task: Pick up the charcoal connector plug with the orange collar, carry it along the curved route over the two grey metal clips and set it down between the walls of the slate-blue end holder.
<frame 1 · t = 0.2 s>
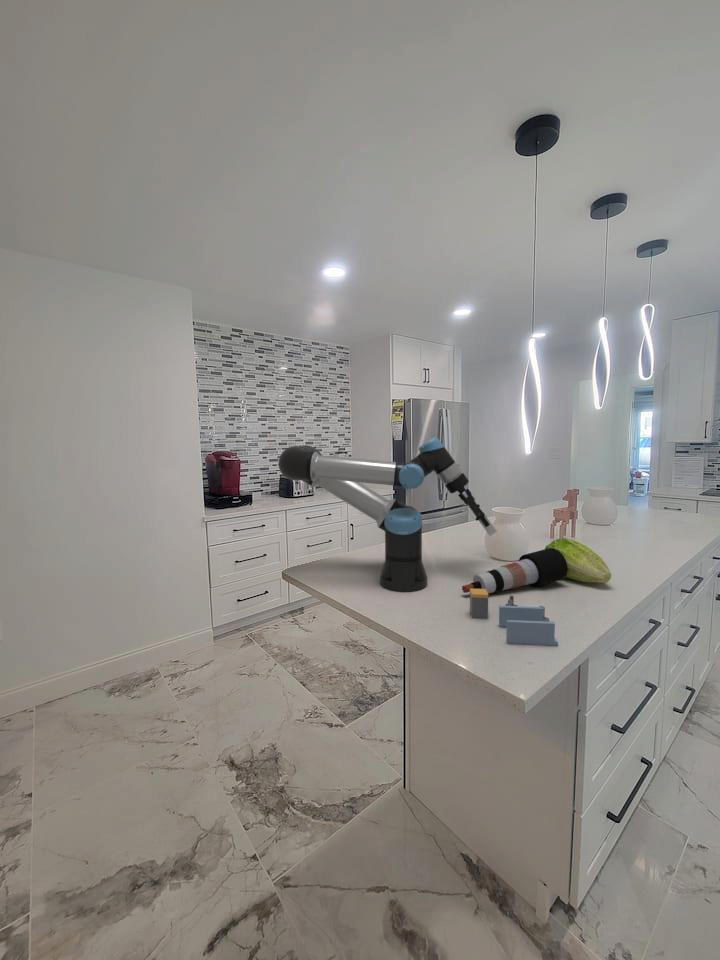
hand: (489, 529, 137), 15 cm above the countertop, fingers open, 13 cm apart
cable: (511, 590, 124), on the countertop
clip a: (510, 609, 109), on the countertop
holder: (525, 634, 95), on the countertop
lettuce: (576, 579, 132), on the countertop
connector: (478, 615, 106), on the countertop
clip b: (537, 620, 102), on the countertop
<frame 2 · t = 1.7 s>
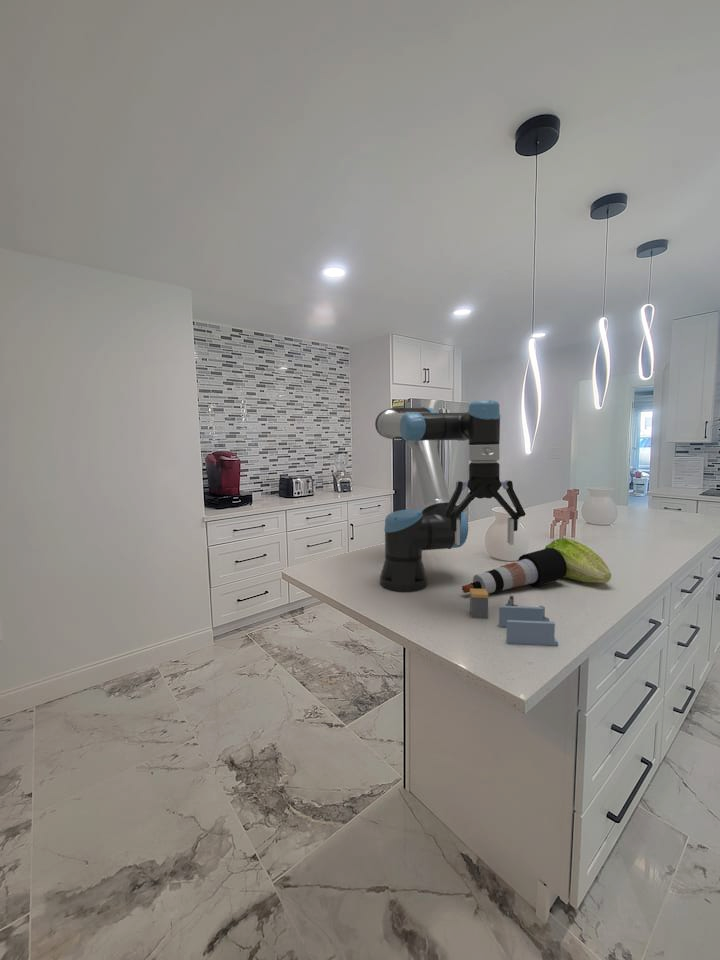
hand: (483, 543, 105), 19 cm above the countertop, fingers open, 13 cm apart
nothing on the countertop moved.
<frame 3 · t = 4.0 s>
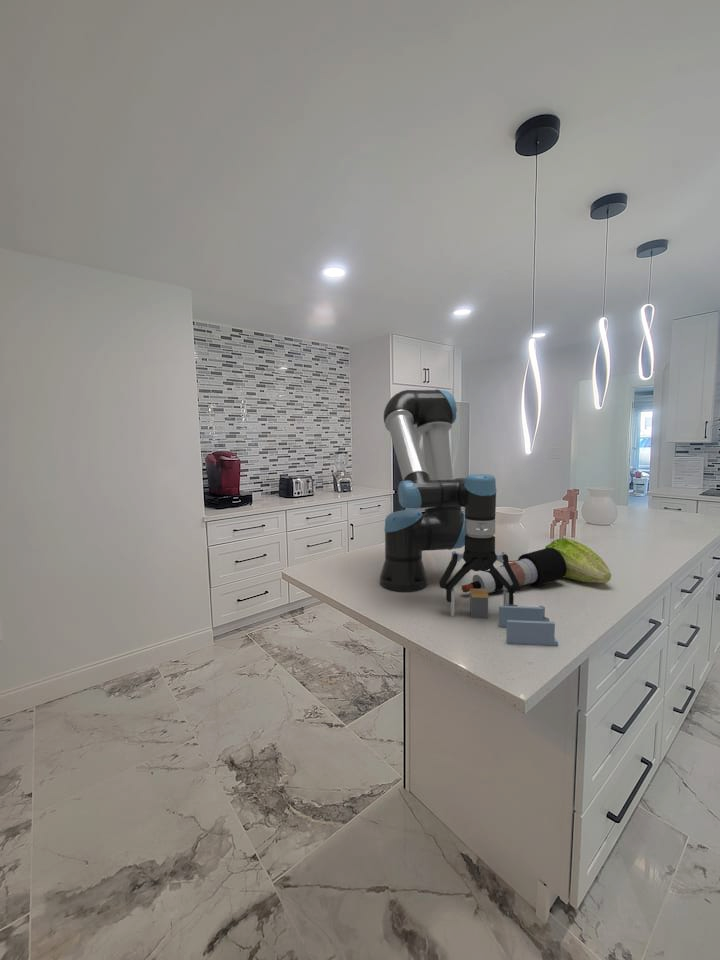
hand: (478, 614, 106), 0 cm above the countertop, fingers open, 13 cm apart
nothing on the countertop moved.
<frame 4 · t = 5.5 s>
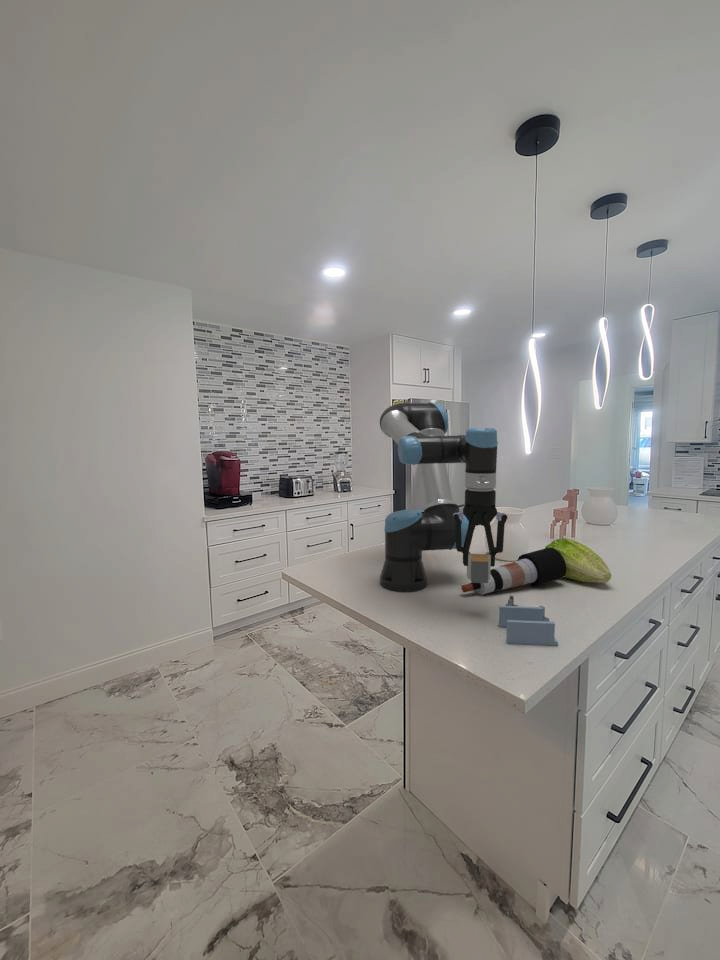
hand: (478, 577, 105), 10 cm above the countertop, fingers closed on connector, 4 cm apart
connector: (478, 580, 105), point 9 cm above the countertop, touching gripper
everything else where it was.
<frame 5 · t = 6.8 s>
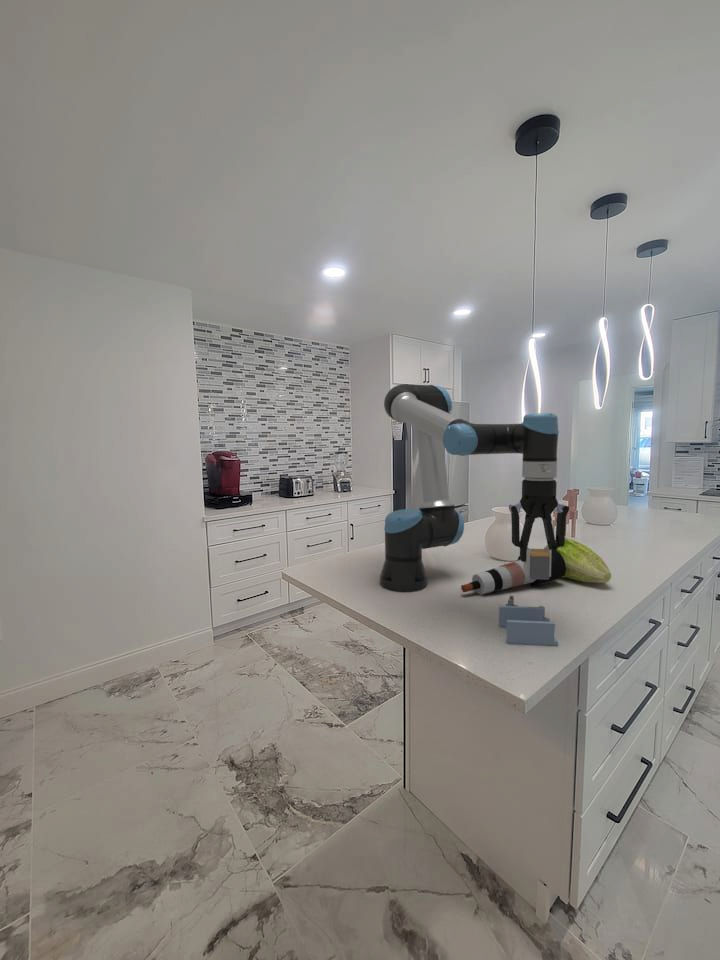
hand: (536, 574, 98), 13 cm above the countertop, fingers closed on connector, 4 cm apart
connector: (537, 576, 98), point 12 cm above the countertop, touching gripper
everything else where it was.
when the fingers open (0 cm above the countertop, at t = 9.7 s): connector stays where it is, on the countertop.
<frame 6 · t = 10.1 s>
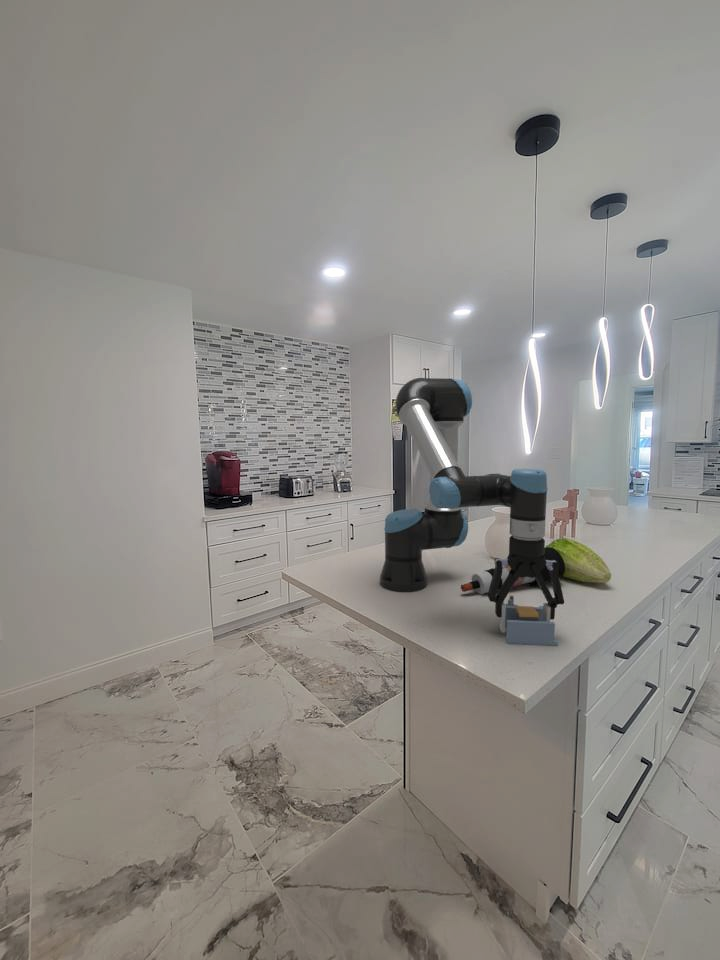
hand: (523, 630, 95), 1 cm above the countertop, fingers open, 9 cm apart
connector: (525, 636, 94), on the countertop
everything else where it was.
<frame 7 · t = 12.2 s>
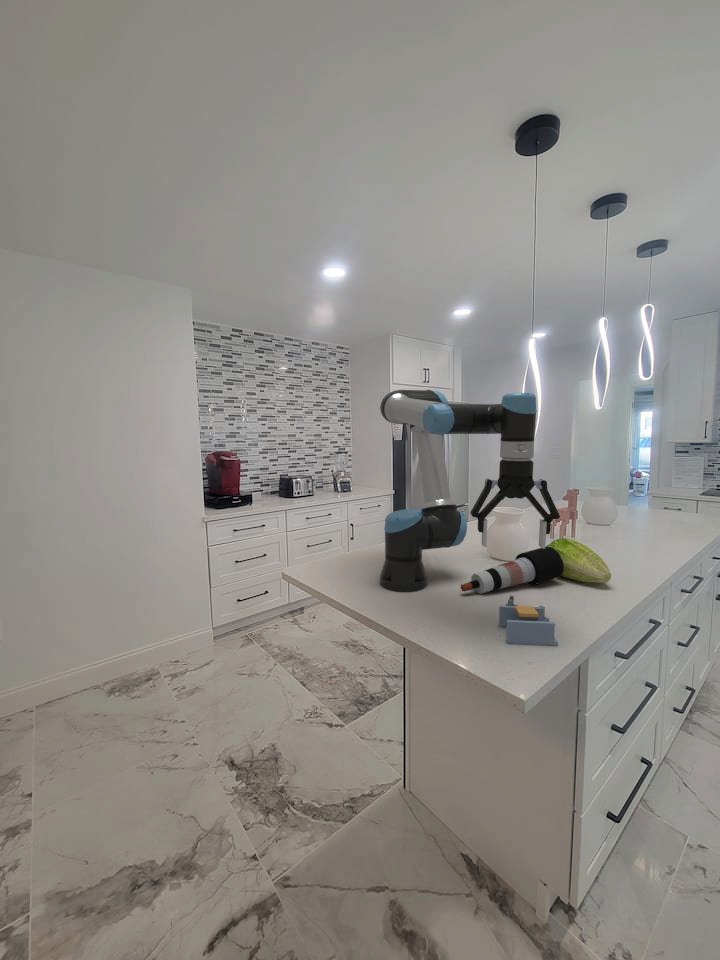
hand: (512, 546, 99), 20 cm above the countertop, fingers open, 13 cm apart
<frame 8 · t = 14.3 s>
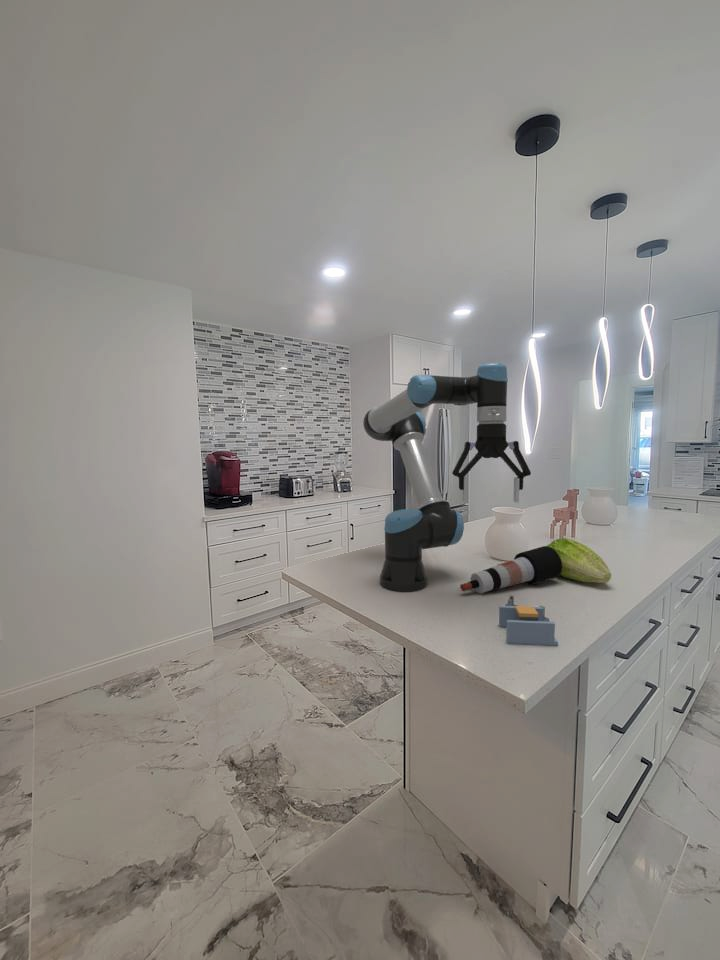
hand: (490, 501, 110), 29 cm above the countertop, fingers open, 13 cm apart
at the end: connector inside the target area on the holder (0.6 cm from its centre), point 0.0 cm above the holder's base; connector tilted 0°; the gripper is holding nothing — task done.
